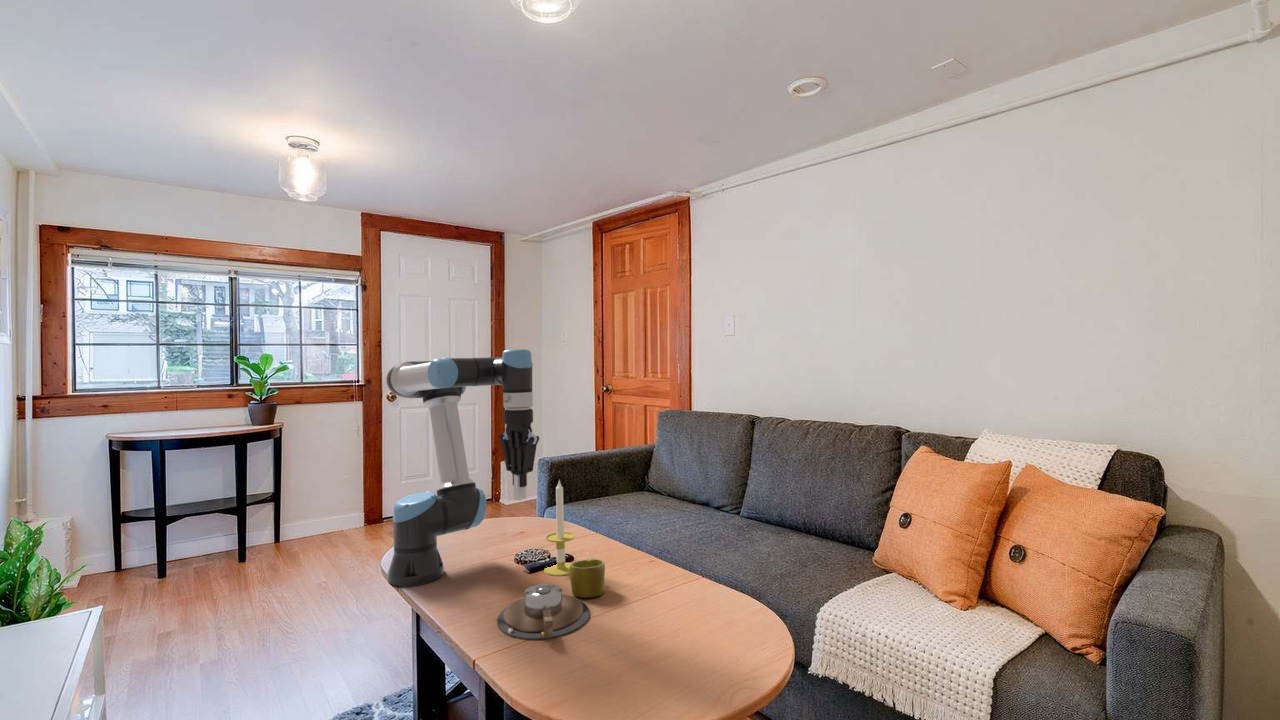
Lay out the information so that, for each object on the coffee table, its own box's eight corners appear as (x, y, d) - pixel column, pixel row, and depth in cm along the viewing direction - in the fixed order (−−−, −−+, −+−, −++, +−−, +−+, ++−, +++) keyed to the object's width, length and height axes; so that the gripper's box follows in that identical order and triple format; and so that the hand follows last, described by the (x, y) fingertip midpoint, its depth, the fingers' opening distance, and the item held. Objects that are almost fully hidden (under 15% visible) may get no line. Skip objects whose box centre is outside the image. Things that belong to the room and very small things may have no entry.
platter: (504, 647, 123) (504, 626, 123) (503, 602, 145) (502, 584, 145) (592, 635, 127) (591, 614, 127) (577, 593, 150) (576, 575, 150)
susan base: (477, 623, 136) (477, 617, 136) (544, 591, 154) (544, 586, 154) (543, 649, 123) (543, 643, 123) (607, 611, 141) (607, 605, 141)
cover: (541, 621, 132) (541, 598, 132) (516, 610, 138) (516, 588, 138) (569, 608, 139) (569, 587, 139) (544, 599, 145) (544, 578, 145)
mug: (605, 596, 145) (595, 556, 148) (568, 606, 147) (559, 567, 150) (619, 587, 157) (609, 550, 159) (585, 596, 159) (576, 560, 161)
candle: (584, 570, 168) (582, 479, 168) (553, 578, 162) (551, 484, 162) (568, 561, 176) (566, 474, 176) (538, 568, 171) (536, 478, 170)
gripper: (490, 408, 149) (492, 498, 149) (524, 410, 142) (526, 505, 142) (512, 406, 155) (513, 492, 155) (546, 408, 148) (548, 499, 148)
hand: (520, 498), depth 149 cm, fingers closed
